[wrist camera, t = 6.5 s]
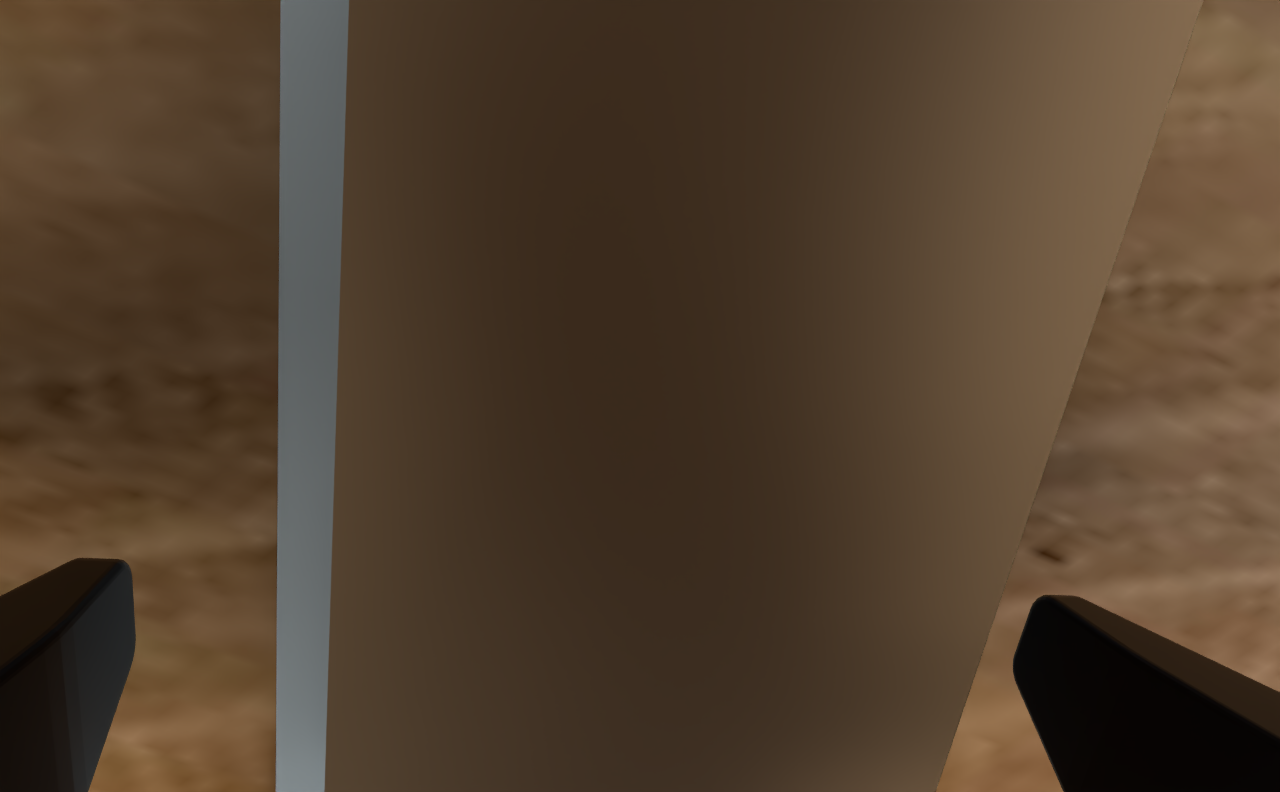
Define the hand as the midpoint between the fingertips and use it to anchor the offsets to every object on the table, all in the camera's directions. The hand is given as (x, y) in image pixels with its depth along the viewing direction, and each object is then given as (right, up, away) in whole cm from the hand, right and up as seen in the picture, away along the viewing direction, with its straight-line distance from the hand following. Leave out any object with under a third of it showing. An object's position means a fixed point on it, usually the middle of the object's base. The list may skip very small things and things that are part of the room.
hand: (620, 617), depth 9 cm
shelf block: (0, +1, +2) cm, 2 cm away
